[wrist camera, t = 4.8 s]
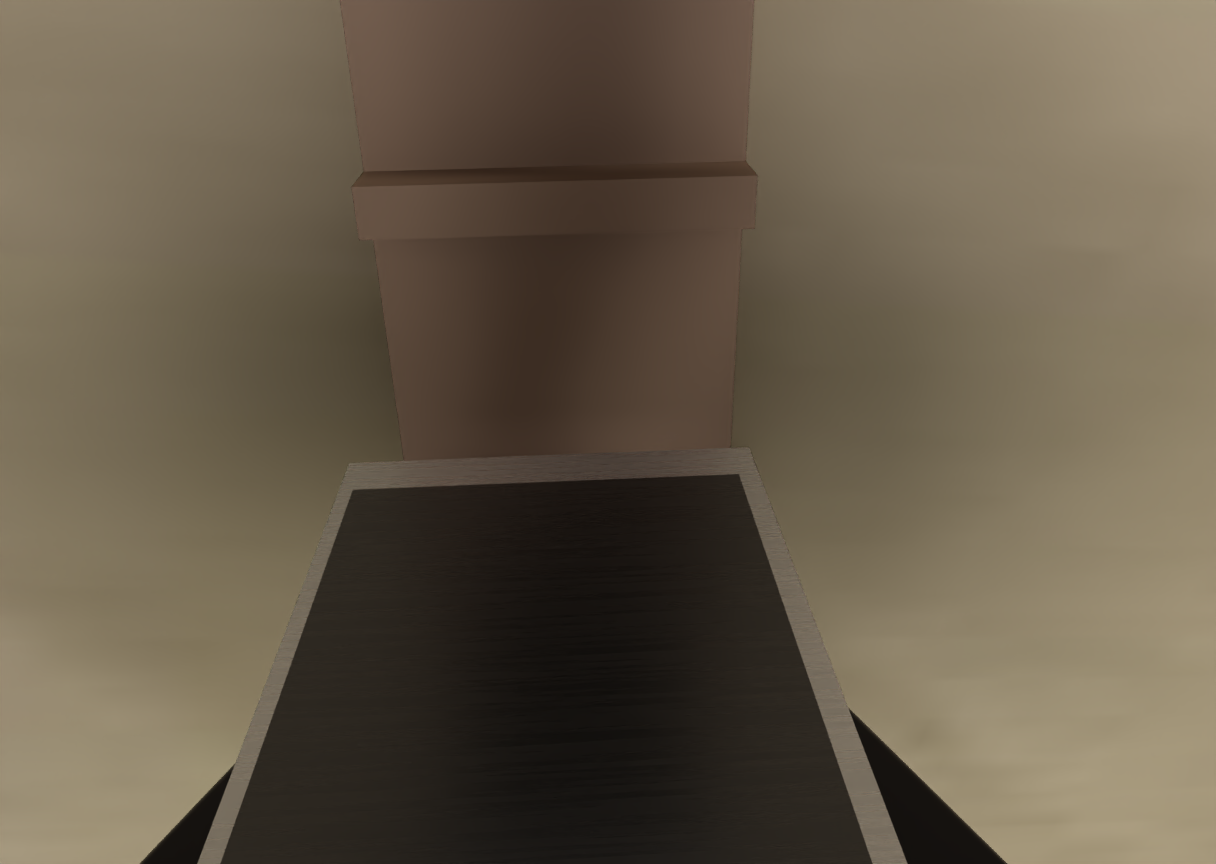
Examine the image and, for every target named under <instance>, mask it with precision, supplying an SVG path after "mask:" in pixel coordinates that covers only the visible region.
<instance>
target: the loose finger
mask: <svg viewBox="0 0 1216 864" xmlns="http://www.w3.org/2000/svg"><path fill="white" fill-rule="evenodd" d="M197 864H907V861H906V858H905V856H904V853H903V851H902V848H901V845H900V843H899V840H898V837H897V835H896V832H895V830H894V827H893V824H892V822H891V819H890V816H889V814H888V811H887V809H886V806H885V803H884V801H883V798H882V795H881V793H880V790H879V788H878V785H877V782H876V780H875V777H874V774H873V772H872V769H871V767H870V764H869V761H868V759H867V756H866V753H865V751H864V748H863V746H862V743H861V740H860V738H859V735H858V732H857V730H856V727H855V725H854V722H853V719H852V717H851V714H850V711H849V709H848V706H847V703H846V701H845V698H844V696H843V693H842V690H841V688H840V685H839V682H838V680H837V677H836V675H835V672H834V669H833V667H832V664H831V661H830V659H829V656H828V654H827V651H826V648H825V646H824V643H823V640H822V638H821V635H820V633H819V630H818V627H817V625H816V622H815V619H814V617H813V614H812V612H811V609H810V606H809V604H808V601H807V598H806V596H805V593H804V591H803V588H802V585H801V583H800V580H799V577H798V575H797V572H796V570H795V567H794V564H793V562H792V559H791V556H790V554H789V551H788V548H787V546H786V543H785V541H784V538H783V535H782V533H781V530H780V527H779V525H778V522H777V520H776V517H775V514H774V512H773V509H772V506H771V504H770V501H769V499H768V496H767V493H766V491H765V488H764V485H763V483H762V480H761V478H760V475H759V472H758V470H757V467H756V464H755V462H754V459H753V457H752V454H751V451H750V449H749V447H740V448H715V449H690V450H665V451H640V452H614V453H589V454H564V455H539V456H513V457H488V458H463V459H438V460H413V461H387V462H362V463H349V465H348V467H347V470H346V473H345V475H344V478H343V481H342V483H341V486H340V489H339V491H338V494H337V496H336V499H335V502H334V504H333V507H332V510H331V512H330V515H329V518H328V520H327V523H326V526H325V528H324V531H323V533H322V536H321V539H320V541H319V544H318V547H317V549H316V552H315V555H314V557H313V560H312V562H311V565H310V568H309V570H308V573H307V576H306V578H305V581H304V584H303V586H302V589H301V591H300V594H299V597H298V599H297V602H296V605H295V607H294V610H293V613H292V615H291V618H290V621H289V623H288V626H287V628H286V631H285V634H284V636H283V639H282V642H281V644H280V647H279V650H278V652H277V655H276V657H275V660H274V663H273V665H272V668H271V671H270V673H269V676H268V679H267V681H266V684H265V686H264V689H263V692H262V694H261V697H260V700H259V702H258V705H257V708H256V710H255V713H254V716H253V718H252V721H251V723H250V726H249V729H248V731H247V734H246V737H245V739H244V742H243V745H242V747H241V750H240V752H239V755H238V758H237V760H236V763H235V766H234V768H233V771H232V774H231V776H230V779H229V781H228V784H227V787H226V789H225V792H224V795H223V797H222V800H221V803H220V805H219V808H218V810H217V813H216V816H215V818H214V821H213V824H212V826H211V829H210V832H209V834H208V837H207V840H206V842H205V845H204V847H203V850H202V853H201V855H200V858H199V861H198V863H197Z"/></svg>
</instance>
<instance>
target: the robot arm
mask: <svg viewBox="0 0 1216 864" xmlns="http://www.w3.org/2000/svg"><path fill="white" fill-rule="evenodd" d="M848 709H849V708H848ZM849 711H850V714H851V717H852V719H853V722H854V725H855V727H856V730H857V732H858V735H859V738H860V740H861V743H862V746H863V748H864V751H865V753H866V756H867V759H868V761H869V764H870V767H871V769H872V772H873V774H874V777H875V780H876V782H877V785H878V788H879V790H880V793H881V795H882V798H883V801H884V803H885V806H886V809H887V811H888V814H889V816H890V819H891V822H892V824H893V827H894V830H895V832H896V835H897V837H898V840H899V843H900V845H901V848H902V851H903V853H904V856H905V858H906V861H907V864H1007V863H1006V862H1005V861H1004V860H1003V859H1002V858H1001V857H1000V856H999V855H998V854H997V853H996V852H995V851H994V850H993V849H992V848H991V847H990V846H989V845H988V844H987V843H986V842H985V841H984V840H983V839H982V838H981V837H979V836H978V835H977V834H976V833H975V832H974V831H973V830H972V829H971V828H970V827H969V826H968V825H967V824H966V823H965V822H964V821H963V820H962V819H961V818H960V817H959V816H958V815H957V814H956V813H955V812H954V811H953V810H952V809H951V808H950V807H949V806H948V805H947V804H946V803H945V802H944V801H943V800H942V799H941V798H940V797H939V796H938V795H937V794H936V793H935V792H934V791H933V790H932V789H931V788H930V787H929V786H928V785H927V784H926V783H925V782H923V781H922V780H921V779H920V778H919V777H918V776H917V775H916V774H915V773H914V772H913V771H912V770H911V769H910V768H909V767H908V766H907V765H906V764H905V763H904V762H903V761H902V760H901V759H900V758H899V757H898V756H897V755H896V754H895V753H894V752H893V751H892V750H891V749H890V748H889V747H888V746H887V745H886V744H885V743H884V742H883V741H882V740H881V739H880V738H879V737H878V736H877V735H876V734H875V733H874V732H873V731H872V730H871V729H870V728H869V727H867V726H866V725H865V724H864V723H863V722H862V721H861V720H860V719H859V718H858V717H857V716H856V715H855V714H854V713H853V712H852V711H851V710H850V709H849ZM234 766H235V764H234V765H233V766H232V767H231V768H230V769H229V770H228V771H227V773H226V774H225V775H224V776H223V777H222V778H221V779H220V780H219V781H218V782H217V783H216V784H215V785H214V786H213V787H212V788H211V789H210V790H209V791H208V792H207V794H206V795H205V796H204V797H203V798H202V799H201V800H200V801H199V802H198V803H197V804H196V805H195V806H194V807H193V808H192V809H191V810H190V811H189V812H188V813H187V815H186V816H185V817H184V818H183V819H182V820H181V821H180V822H179V823H178V824H177V825H176V826H175V827H174V828H173V829H172V830H171V831H170V832H169V833H168V834H167V836H166V837H165V838H164V839H163V840H162V841H161V842H160V843H159V844H158V845H157V846H156V847H155V848H154V849H153V850H152V851H151V852H150V853H149V854H148V856H147V857H146V858H145V859H144V860H143V861H142V862H141V863H140V864H197V863H198V861H199V858H200V855H201V853H202V850H203V847H204V845H205V842H206V840H207V837H208V834H209V832H210V829H211V826H212V824H213V821H214V818H215V816H216V813H217V810H218V808H219V805H220V803H221V800H222V797H223V795H224V792H225V789H226V787H227V784H228V781H229V779H230V776H231V774H232V771H233V768H234Z"/></svg>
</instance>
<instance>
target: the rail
mask: <svg viewBox="0 0 1216 864" xmlns="http://www.w3.org/2000/svg"><path fill="white" fill-rule="evenodd" d="M340 5H341V12H342V19H343V26H344V33H345V41H346V48H347V55H348V62H349V69H350V77H351V84H352V91H353V98H354V105H355V113H356V120H357V127H358V134H359V141H360V149H361V156H362V163H363V170H364V172H363V173H362V174H361V176H360V177H359V178H358V179H357V181H356V182H355V183H354V184H353V186H352V187H351V188H352V195H353V202H354V209H355V216H356V223H357V230H358V236H359V240H373V242H374V249H375V257H376V264H377V271H378V278H379V285H380V293H381V300H382V307H383V314H384V321H385V329H386V336H387V343H388V350H389V357H390V365H391V372H392V379H393V386H394V393H395V401H396V408H397V415H398V422H399V429H400V437H401V444H402V451H403V458H404V461H413V460H438V459H463V458H488V457H513V456H539V455H564V454H589V453H614V452H640V451H665V450H690V449H715V448H731V431H732V412H733V393H734V374H735V355H736V336H737V317H738V298H739V279H740V259H741V240H742V229H755V212H756V195H757V178H758V176H757V174H756V173H755V172H754V171H753V169H752V168H751V167H750V166H749V165H748V163H747V162H746V145H747V126H748V107H749V88H750V69H751V50H752V31H753V12H754V0H340Z"/></svg>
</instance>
